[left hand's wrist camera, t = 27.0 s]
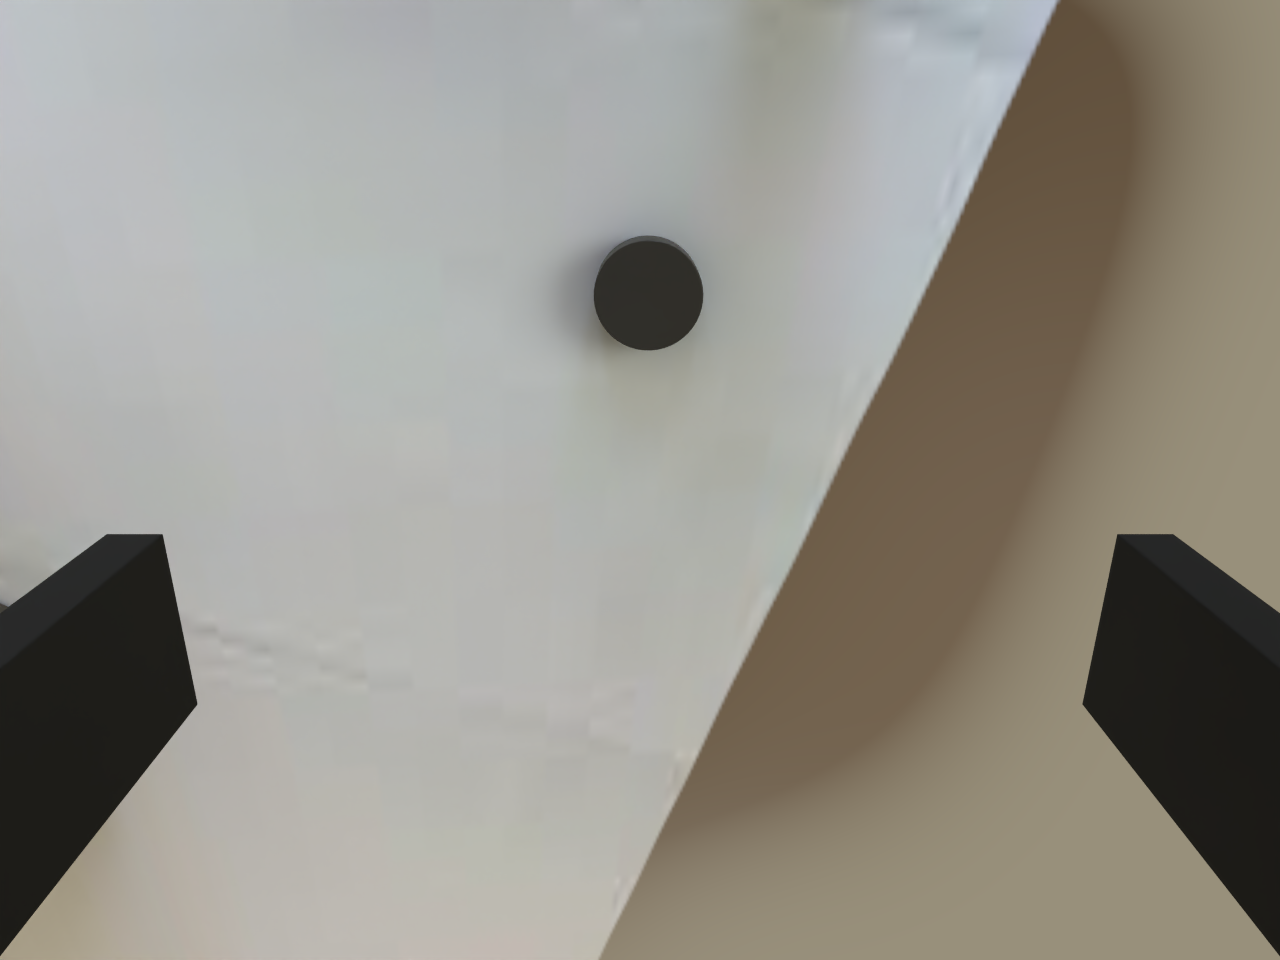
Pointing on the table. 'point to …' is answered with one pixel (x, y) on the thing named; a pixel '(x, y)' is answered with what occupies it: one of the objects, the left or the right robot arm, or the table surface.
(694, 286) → the lid
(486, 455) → the table surface
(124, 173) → the table surface
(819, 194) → the table surface
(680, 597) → the table surface
